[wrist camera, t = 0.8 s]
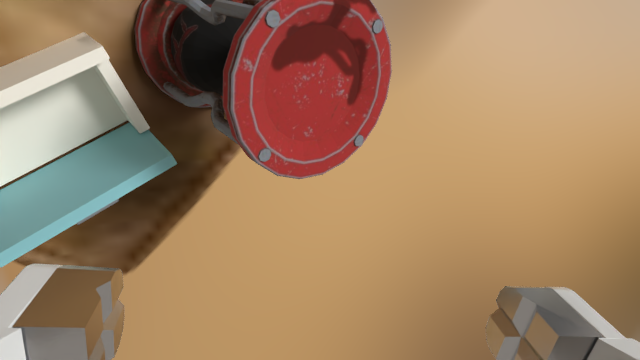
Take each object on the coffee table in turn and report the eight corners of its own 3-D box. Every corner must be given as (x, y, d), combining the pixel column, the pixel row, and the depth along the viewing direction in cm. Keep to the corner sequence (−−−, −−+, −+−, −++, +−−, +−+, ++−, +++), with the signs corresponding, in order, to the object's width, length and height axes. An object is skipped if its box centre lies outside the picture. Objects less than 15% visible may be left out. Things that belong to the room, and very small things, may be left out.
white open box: (-99, 108, 36) (-115, 141, 30) (84, 32, 42) (102, 46, 36) (-17, 187, 42) (-16, 228, 36) (132, 110, 48) (155, 134, 42)
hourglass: (280, 43, 57) (415, 84, 39) (203, 128, 55) (308, 211, 37) (201, -65, 45) (342, -75, 28) (101, 37, 43) (183, 96, 26)
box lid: (-12, 196, 41) (-10, 258, 33) (137, 118, 47) (171, 154, 39) (2, 209, 42) (8, 273, 34) (145, 132, 48) (181, 169, 40)
